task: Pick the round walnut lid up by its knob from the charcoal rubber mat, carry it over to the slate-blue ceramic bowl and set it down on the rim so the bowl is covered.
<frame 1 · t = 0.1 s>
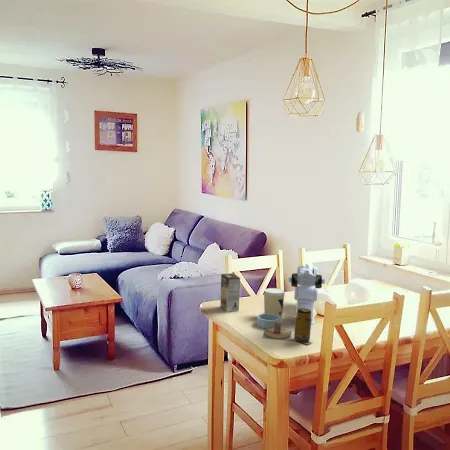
hand: (306, 283, 190), 22 cm above the table, tool horizontal, fingers open, 7 cm apart
bowl: (268, 325, 204), on the table
coffee cup: (273, 317, 217), on the table
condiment: (303, 341, 187), on the table, touching mat
coffee box: (229, 309, 226), on the table
lid: (277, 334, 192), resting on mat
mat: (277, 335, 192), on the table
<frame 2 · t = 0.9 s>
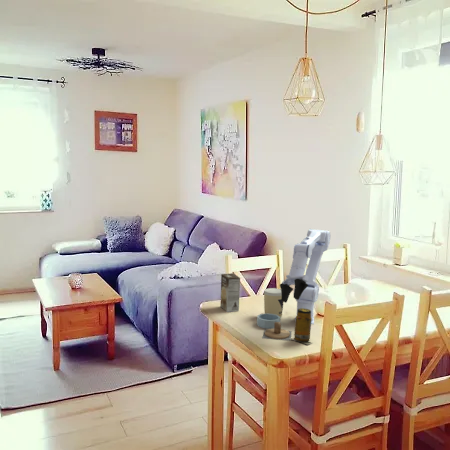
hand: (289, 300, 189), 15 cm above the table, tool tilted 40°, fingers open, 7 cm apart
nothing on the table moved.
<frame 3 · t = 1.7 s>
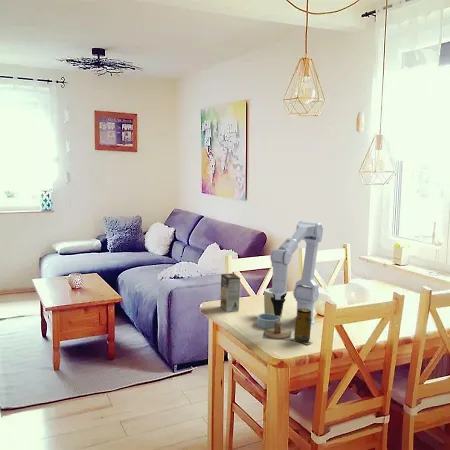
hand: (278, 312, 191), 9 cm above the table, tool pointing down, fingers open, 7 cm apart
nothing on the table moved.
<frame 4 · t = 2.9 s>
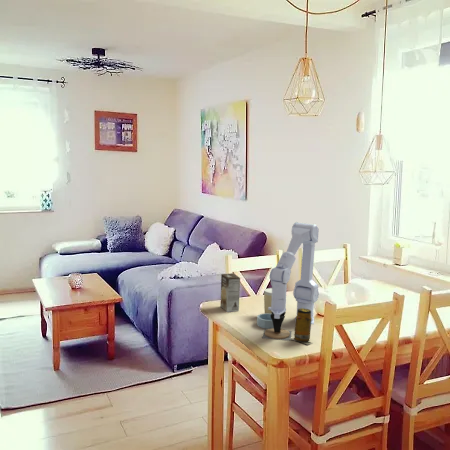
hand: (277, 330, 192), 2 cm above the table, tool pointing down, fingers closed on lid, 3 cm apart
lid: (277, 334, 192), resting on mat, touching gripper
everything else where it was.
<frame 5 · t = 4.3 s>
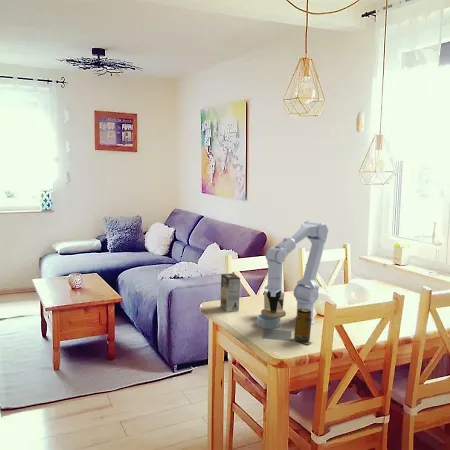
hand: (273, 309, 197), 9 cm above the table, tool pointing down, fingers closed on lid, 3 cm apart
lid: (273, 313, 198), point 7 cm above the table, touching gripper
everything else where it was.
when the fingers open (7 cm above the table, at t = 5.3 s): lid stays where it is, resting on bowl.
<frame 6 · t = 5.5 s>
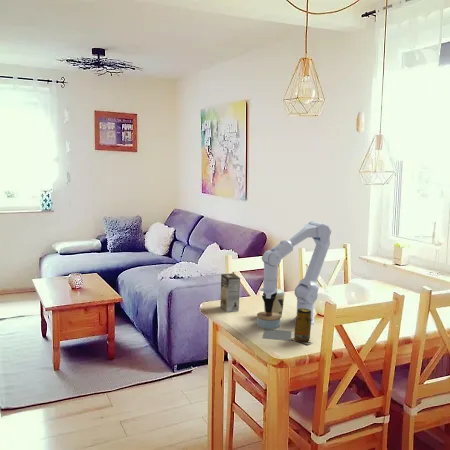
hand: (269, 310, 203), 7 cm above the table, tool pointing down, fingers open, 4 cm apart
lid: (268, 316, 203), point 4 cm above the table, touching bowl
everything else where it was.
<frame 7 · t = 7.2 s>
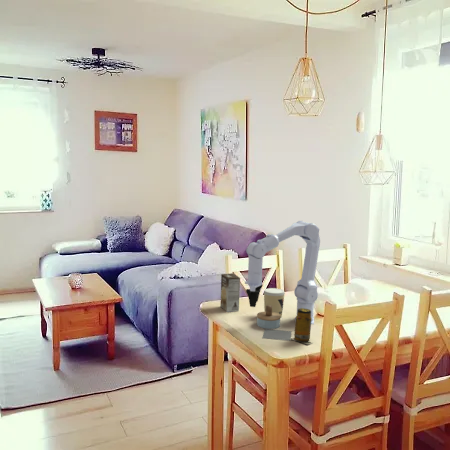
hand: (253, 304, 199), 10 cm above the table, tool pointing down, fingers open, 7 cm apart
nothing on the table moved.
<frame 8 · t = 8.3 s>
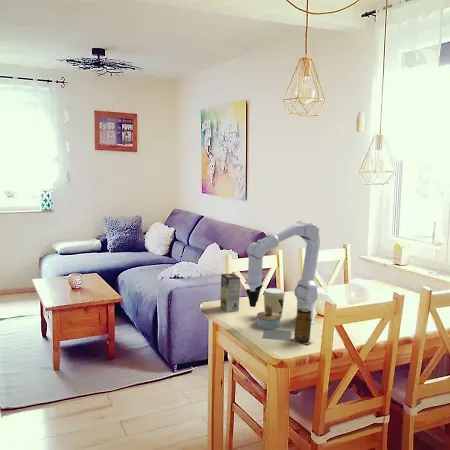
hand: (253, 304, 199), 10 cm above the table, tool pointing down, fingers open, 7 cm apart
nothing on the table moved.
at the end: lid 0.0 cm from the bowl (horizontally); lid 0.0 cm off-centre on the bowl, point 3.8 cm above the bowl's base; the gripper is holding nothing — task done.
